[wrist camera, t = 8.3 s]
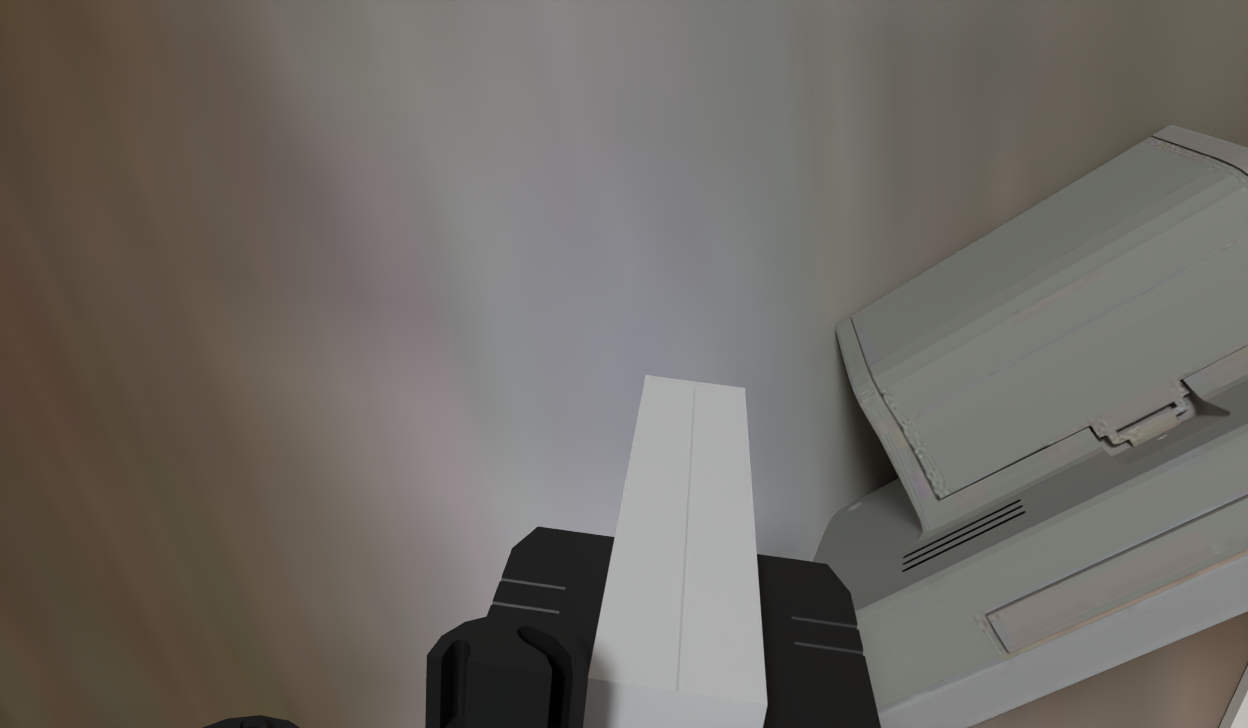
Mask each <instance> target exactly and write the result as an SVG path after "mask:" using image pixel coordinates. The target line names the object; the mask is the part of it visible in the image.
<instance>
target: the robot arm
mask: <svg viewBox="0 0 1248 728" xmlns="http://www.w3.org/2000/svg"><path fill="white" fill-rule="evenodd" d="M857 624H858V623H857V618H856V614H855V610H854V605H853V601H852V596H851V592H850V591H849V590H848V589H847V588H846V586H845V585H844V584H843V583H842V581H841V580H840V579H839V578H838V576H837V575H836V574H835V573H834V571H833V570H832V569H831V568H830V567H829V565H828V564H824V563H817V562H810V561H802V560H795V559H788V558H781V557H774V556H766V555H759V554H757V550H756V536H755V523H754V509H753V495H752V481H751V467H750V453H749V439H748V425H747V411H746V397H745V388H741V387H733V386H725V385H718V384H710V383H702V382H695V381H687V380H679V379H671V378H664V377H656V376H648V375H646V376H645V382H644V387H643V392H642V397H641V402H640V408H639V413H638V418H637V423H636V429H635V434H634V439H633V444H632V450H631V455H630V460H629V465H628V470H627V476H626V481H625V486H624V491H623V497H622V502H621V507H620V512H619V518H618V523H617V528H616V533H615V537H609V536H602V535H595V534H587V533H580V532H573V531H566V530H559V529H552V528H544V527H537V528H536V529H535V530H533V531H532V532H531V533H530V534H529V535H527V536H526V537H525V538H524V539H523V540H521V541H520V542H519V543H518V544H517V545H515V546H514V547H513V548H512V550H511V553H510V556H509V558H508V561H507V564H506V566H505V569H504V572H503V574H502V579H501V582H499V585H498V588H497V590H496V593H495V596H494V598H493V604H492V605H491V606H490V609H489V612H488V614H487V617H483V618H479V619H475V620H471V621H467V622H464V623H463V624H461V625H459V626H458V627H456V628H454V629H452V630H451V631H449V632H447V633H446V634H444V635H442V636H441V638H440V639H439V640H438V641H437V643H436V644H435V645H434V647H433V648H432V649H431V651H430V652H429V653H428V655H427V677H426V727H425V728H881V725H880V720H879V716H878V712H877V707H876V703H875V698H874V694H873V689H872V685H871V681H870V676H869V672H868V667H867V663H866V658H865V656H863V645H862V641H861V636H860V632H859V629H857ZM203 728H299V727H298V726H296V725H295V724H293V723H292V722H290V721H288V720H282V719H277V718H272V717H266V716H261V715H258V716H249V717H239V718H230V719H225V720H222V721H220V722H217V723H214V724H212V725H209V726H206V727H203Z"/></svg>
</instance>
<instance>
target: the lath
mask: <svg viewBox="0 0 1248 728" xmlns="http://www.w3.org/2000/svg"><path fill="white" fill-rule="evenodd" d="M1219 728H1248V666H1247V668H1246V670H1245V672H1244V674H1243V677H1242V679H1241V681H1240V683H1239V685H1238V687H1237V690H1236V692H1235V694H1234V696H1233V698H1232V700H1231V703H1230V705H1229V707H1228V709H1227V711H1226V713H1225V715H1224V718H1223V720H1222V722H1221V724H1220V726H1219Z"/></svg>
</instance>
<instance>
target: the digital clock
mask: <svg viewBox="0 0 1248 728" xmlns="http://www.w3.org/2000/svg"><path fill="white" fill-rule="evenodd" d="M851 318H852V319H851ZM835 330H836V333H837V337H838V341H839V344H840V348H841V352H842V355H843V359H844V362H845V366H846V370H847V373H848V377H849V380H850V383H851V386H852V389H853V392H854V394H855V397H856V399H857V401H858V403H859V405H860V407H861V409H862V410H863V412H864V414H865V416H866V417H867V419H868V421H869V422H870V424H871V426H872V427H873V429H874V431H875V433H876V434H877V436H878V438H879V439H880V441H881V443H882V445H883V447H884V449H885V451H886V453H887V455H888V457H889V459H890V461H891V463H892V465H893V467H894V469H895V471H896V473H897V475H898V477H899V478H898V479H896V480H894V481H892V482H890V483H888V484H887V485H885V486H883V487H881V488H879V489H877V490H875V491H873V492H871V493H870V494H868V495H866V496H864V497H862V498H860V499H858V500H857V501H855V502H853V503H851V504H850V505H848V506H846V507H845V508H843V509H842V510H840V511H839V512H838V513H836V514H835V515H834V516H833V518H832V519H831V521H830V522H829V524H828V526H827V528H826V530H825V533H824V535H823V538H822V540H821V543H820V545H819V548H818V550H817V553H816V555H815V557H814V560H813V562H817V563H824V564H828V565H829V567H830V568H831V569H832V570H833V571H834V573H835V574H836V575H837V576H838V578H839V579H840V580H841V581H842V583H843V584H844V585H845V586H846V588H847V589H848V590H849V591H850V592H851V596H852V601H853V605H854V610H855V614H856V618H857V623H858V624H857V629H859V632H860V636H861V641H862V645H863V656H865V658H866V663H867V667H868V672H869V676H870V681H871V685H872V689H873V694H874V698H875V703H876V707H877V712H878V716H879V720H880V725H881V728H968V727H971V726H973V725H976V724H978V723H980V722H983V721H985V720H988V719H990V718H992V717H995V716H997V715H1000V714H1002V713H1004V712H1007V711H1009V710H1012V709H1014V708H1016V707H1019V706H1021V705H1024V704H1026V703H1028V702H1031V701H1033V700H1036V699H1038V698H1040V697H1043V696H1045V695H1048V694H1050V693H1052V692H1055V691H1057V690H1060V689H1062V688H1064V687H1067V686H1069V685H1072V684H1074V683H1076V682H1079V681H1081V680H1084V679H1086V678H1089V677H1091V676H1093V675H1096V674H1098V673H1101V672H1103V671H1105V670H1108V669H1110V668H1113V667H1115V666H1117V665H1120V664H1122V663H1125V662H1127V661H1129V660H1132V659H1134V658H1137V657H1139V656H1141V655H1144V654H1146V653H1149V652H1151V651H1153V650H1156V649H1158V648H1161V647H1163V646H1165V645H1168V644H1170V643H1173V642H1175V641H1177V640H1180V639H1182V638H1185V637H1187V636H1189V635H1192V634H1194V633H1197V632H1199V631H1202V630H1204V629H1206V628H1209V627H1211V626H1214V625H1216V624H1218V623H1221V622H1223V621H1226V620H1228V619H1230V618H1233V617H1235V616H1238V615H1240V614H1242V613H1245V612H1247V611H1248V148H1247V147H1244V146H1241V145H1238V144H1234V143H1231V142H1228V141H1224V140H1221V139H1218V138H1215V137H1211V136H1208V135H1205V134H1201V133H1198V132H1194V131H1191V130H1188V129H1184V128H1181V127H1177V126H1174V125H1170V126H1167V127H1165V128H1164V129H1162V130H1160V131H1159V132H1157V133H1155V134H1154V135H1152V136H1151V137H1149V138H1147V139H1145V140H1144V141H1142V142H1140V143H1139V144H1137V145H1135V146H1134V147H1132V148H1130V149H1129V150H1127V151H1125V152H1124V153H1122V154H1120V155H1119V156H1117V157H1115V158H1114V159H1112V160H1110V161H1109V162H1107V163H1105V164H1104V165H1102V166H1100V167H1099V168H1097V169H1095V170H1094V171H1092V172H1090V173H1089V174H1087V175H1085V176H1084V177H1082V178H1080V179H1079V180H1077V181H1075V182H1074V183H1072V184H1070V185H1069V186H1067V187H1065V188H1064V189H1062V190H1060V191H1059V192H1057V193H1055V194H1054V195H1052V196H1050V197H1049V198H1047V199H1045V200H1044V201H1042V202H1040V203H1039V204H1037V205H1035V206H1034V207H1032V208H1030V209H1028V210H1027V211H1025V212H1023V213H1022V214H1020V215H1018V216H1017V217H1015V218H1013V219H1012V220H1010V221H1008V222H1007V223H1005V224H1003V225H1002V226H1000V227H998V228H997V229H995V230H993V231H992V232H990V233H988V234H987V235H985V236H983V237H982V238H980V239H978V240H977V241H975V242H973V243H972V244H970V245H968V246H967V247H965V248H963V249H962V250H960V251H958V252H957V253H955V254H953V255H952V256H950V257H948V258H947V259H945V260H943V261H942V262H940V263H938V264H937V265H935V266H933V267H932V268H930V269H928V270H927V271H925V272H923V273H922V274H920V275H918V276H917V277H915V278H913V279H912V280H910V281H908V282H907V283H905V284H903V285H902V286H900V287H898V288H897V289H895V290H893V291H892V292H890V293H888V294H887V295H885V296H883V297H882V298H880V299H878V300H877V301H875V302H873V303H872V304H870V305H868V306H867V307H865V308H863V309H862V310H860V311H858V312H857V313H855V314H853V315H852V316H851V317H848V318H847V319H845V320H843V321H842V322H840V323H838V324H837V325H836V326H835Z"/></svg>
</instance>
